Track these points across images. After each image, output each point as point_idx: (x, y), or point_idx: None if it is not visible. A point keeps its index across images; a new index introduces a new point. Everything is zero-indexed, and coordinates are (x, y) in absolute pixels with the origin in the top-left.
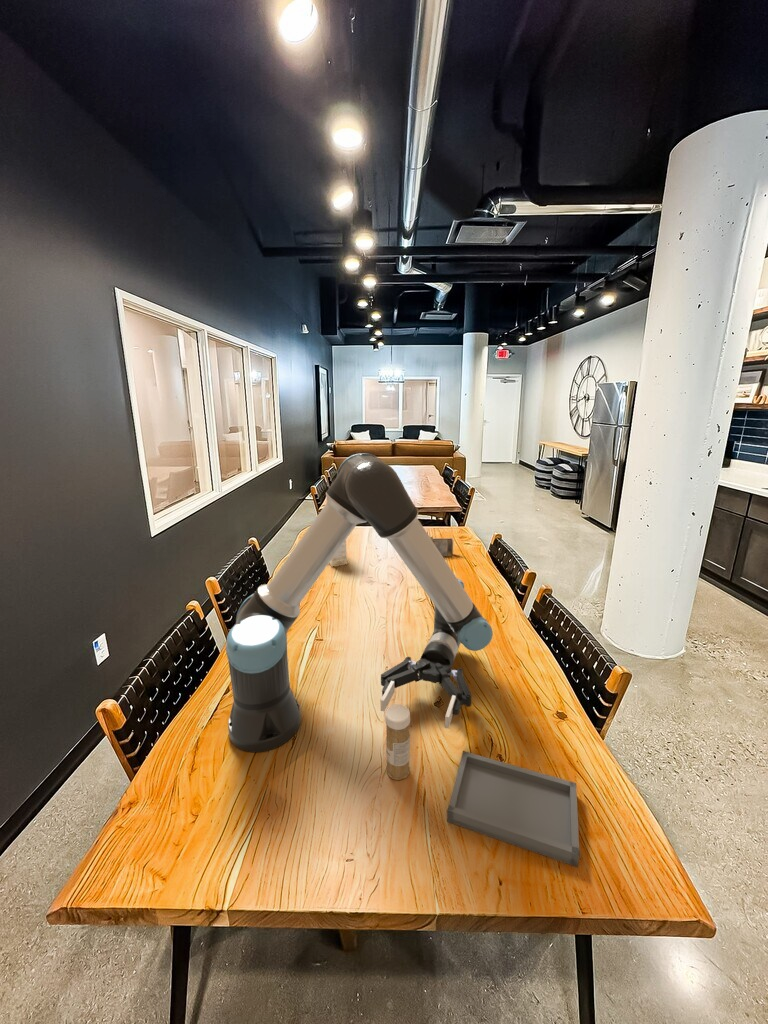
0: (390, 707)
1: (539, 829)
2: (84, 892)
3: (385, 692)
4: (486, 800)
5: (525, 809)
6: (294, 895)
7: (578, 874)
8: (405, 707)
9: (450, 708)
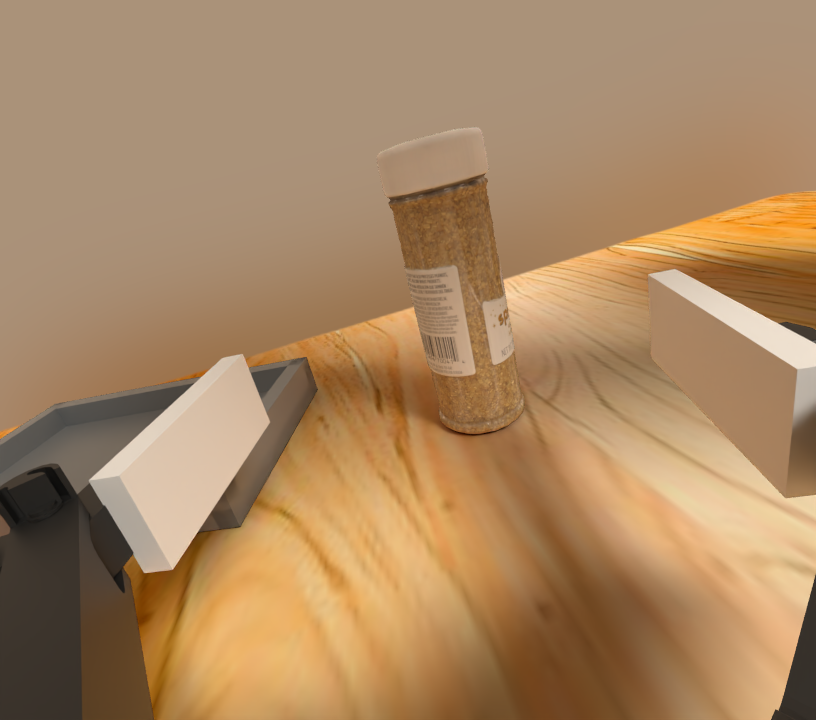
0: (467, 128)
1: (99, 433)
2: (795, 194)
3: (710, 292)
4: None
5: (101, 453)
6: (538, 272)
7: None
8: (401, 144)
9: (193, 391)
